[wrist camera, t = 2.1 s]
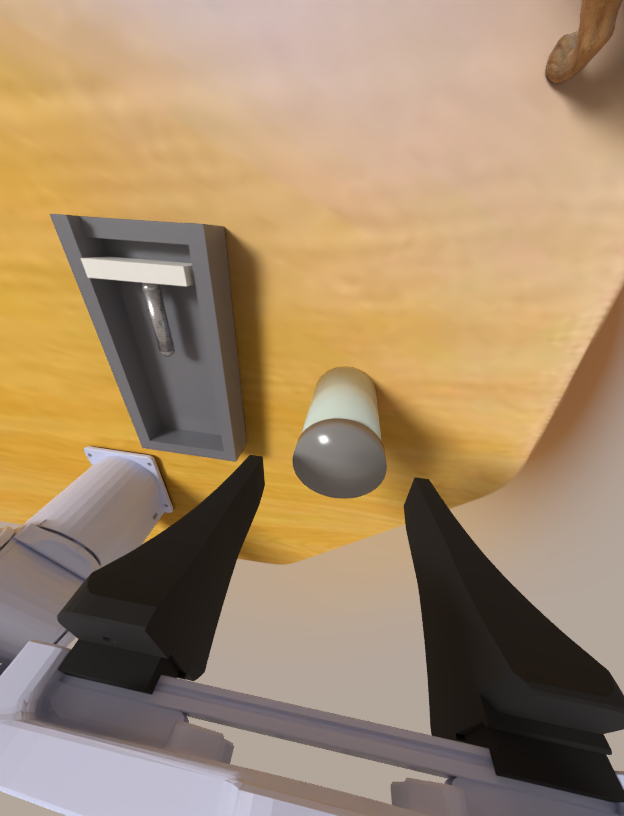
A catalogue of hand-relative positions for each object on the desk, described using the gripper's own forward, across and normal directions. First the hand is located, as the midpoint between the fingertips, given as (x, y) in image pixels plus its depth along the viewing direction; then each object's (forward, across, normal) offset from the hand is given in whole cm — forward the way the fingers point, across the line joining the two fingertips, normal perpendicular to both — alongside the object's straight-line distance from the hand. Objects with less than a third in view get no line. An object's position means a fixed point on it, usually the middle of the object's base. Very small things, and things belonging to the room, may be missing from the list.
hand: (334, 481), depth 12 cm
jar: (+9, 0, 0) cm, 9 cm away
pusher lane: (+9, +13, -2) cm, 16 cm away
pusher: (+9, +13, -5) cm, 16 cm away
